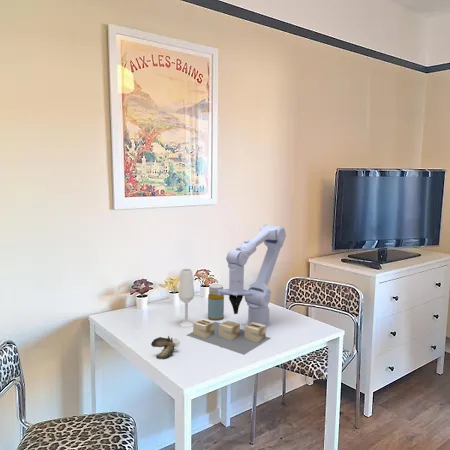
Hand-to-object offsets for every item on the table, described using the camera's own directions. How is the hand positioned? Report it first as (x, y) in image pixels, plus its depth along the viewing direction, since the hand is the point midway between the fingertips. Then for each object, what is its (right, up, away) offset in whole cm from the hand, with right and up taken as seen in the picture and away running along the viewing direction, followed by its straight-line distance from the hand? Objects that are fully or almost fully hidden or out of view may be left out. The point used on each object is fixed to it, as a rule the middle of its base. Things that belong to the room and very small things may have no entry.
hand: (235, 313), depth 167 cm
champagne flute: (-21, -8, +12) cm, 25 cm away
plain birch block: (-3, -9, -1) cm, 9 cm away
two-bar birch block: (-13, -9, +1) cm, 16 cm away
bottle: (-8, -7, +20) cm, 23 cm away
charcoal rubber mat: (-3, -10, -1) cm, 10 cm away
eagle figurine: (-26, -12, -16) cm, 32 cm away
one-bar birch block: (+8, -9, -2) cm, 12 cm away
